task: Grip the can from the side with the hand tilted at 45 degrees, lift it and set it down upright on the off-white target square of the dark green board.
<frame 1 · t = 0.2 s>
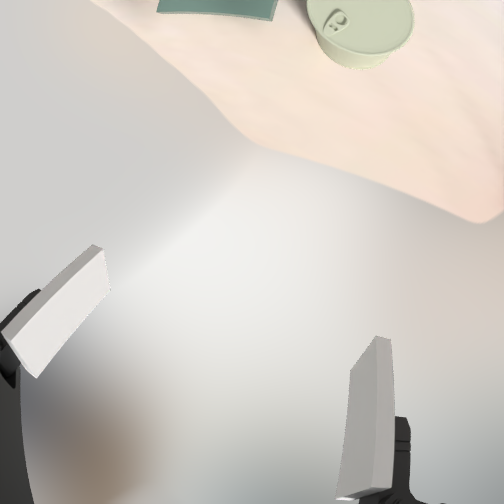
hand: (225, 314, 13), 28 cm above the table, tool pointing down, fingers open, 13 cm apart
can: (354, 35, 25), on the table
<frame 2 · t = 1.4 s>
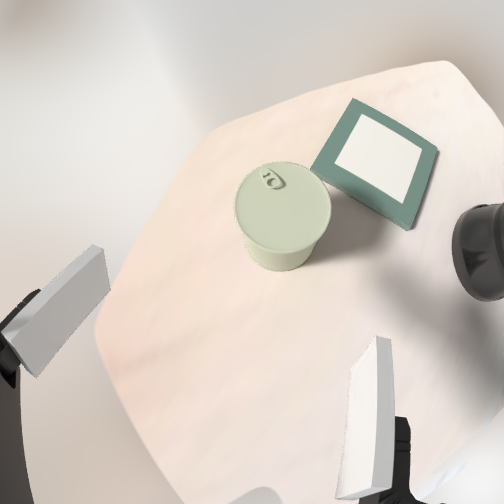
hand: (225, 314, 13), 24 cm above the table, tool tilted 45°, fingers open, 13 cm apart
can: (279, 236, 38), on the table
board: (378, 160, 39), on the table
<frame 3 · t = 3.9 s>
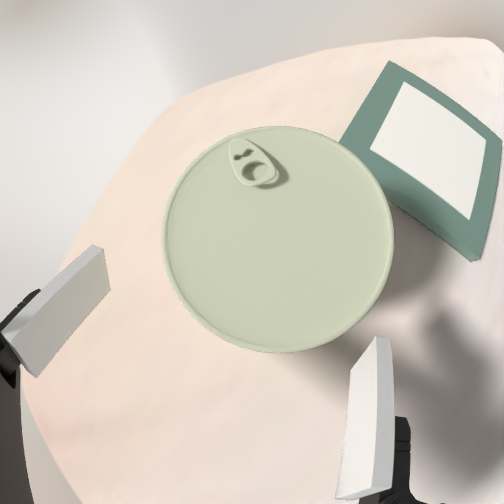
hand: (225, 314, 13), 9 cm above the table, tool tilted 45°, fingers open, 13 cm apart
can: (276, 269, 22), on the table
board: (431, 150, 23), on the table
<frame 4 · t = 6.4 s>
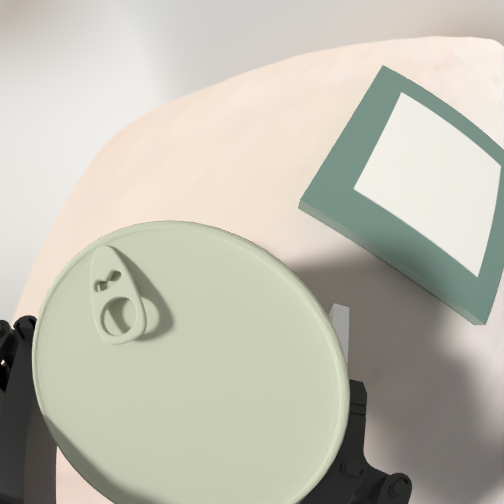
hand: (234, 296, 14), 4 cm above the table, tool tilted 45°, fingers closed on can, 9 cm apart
can: (227, 348, 17), on the table, touching gripper
board: (434, 182, 19), on the table
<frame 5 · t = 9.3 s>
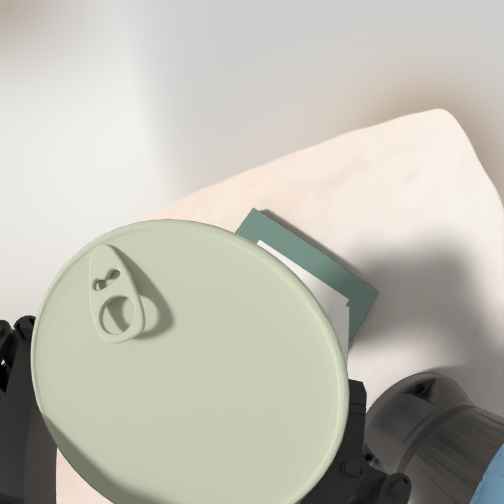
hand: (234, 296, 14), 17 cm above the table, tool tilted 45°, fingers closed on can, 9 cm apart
can: (227, 348, 17), point 12 cm above the table, touching gripper
board: (273, 315, 30), on the table
when the fingers open (7 cm above the table, at t = 12.3 s): can drops 1 cm, resting on board.
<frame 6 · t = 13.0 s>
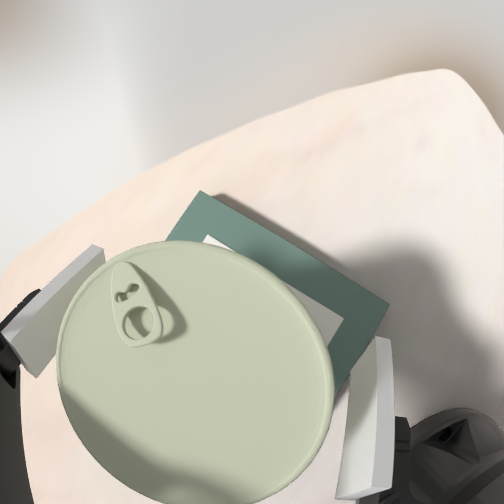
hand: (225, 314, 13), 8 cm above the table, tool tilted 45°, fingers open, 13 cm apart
can: (229, 347, 19), point 1 cm above the table, touching board
board: (233, 342, 20), on the table
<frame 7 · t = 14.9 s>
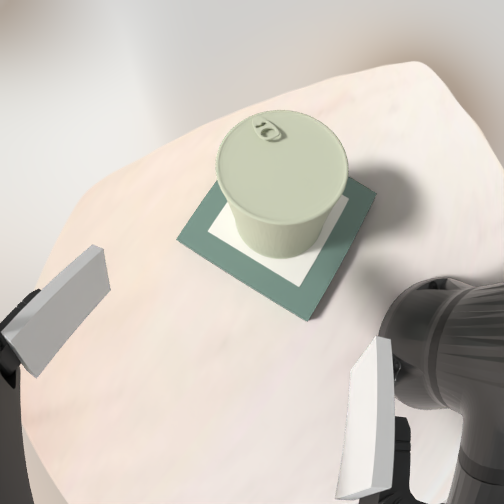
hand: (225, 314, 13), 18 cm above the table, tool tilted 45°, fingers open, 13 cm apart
can: (279, 215, 30), point 1 cm above the table, touching board
board: (279, 218, 32), on the table
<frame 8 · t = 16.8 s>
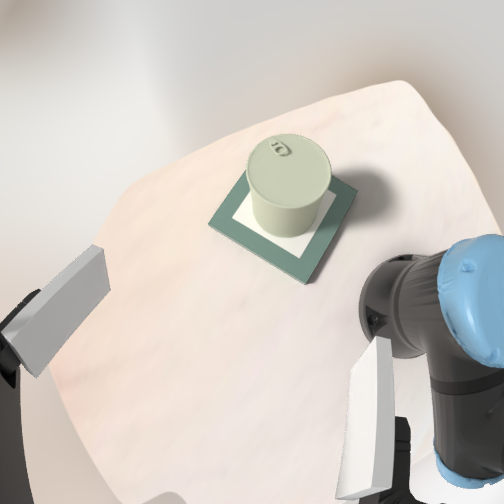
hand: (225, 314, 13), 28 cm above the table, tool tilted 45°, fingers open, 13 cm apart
can: (285, 207, 41), point 1 cm above the table, touching board
board: (285, 209, 42), on the table
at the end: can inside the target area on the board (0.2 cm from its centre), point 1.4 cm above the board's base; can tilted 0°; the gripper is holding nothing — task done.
